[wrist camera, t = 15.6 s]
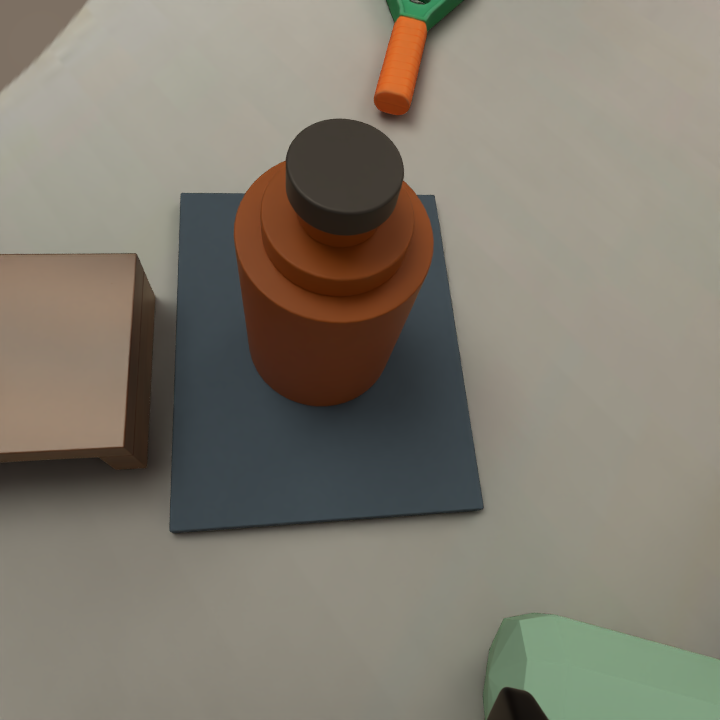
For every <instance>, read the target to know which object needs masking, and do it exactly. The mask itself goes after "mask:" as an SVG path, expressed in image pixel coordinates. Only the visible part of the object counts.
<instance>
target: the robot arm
mask: <svg viewBox="0 0 720 720" xmlns="http://www.w3.org/2000/svg"><path fill="white" fill-rule="evenodd" d="M487 720H549V719H548V718H547V716H546V715H545V713H544V712H543V710H542V709H541V707H540V706H539V704H538V703H537V701H536V700H535V698H534V697H533V696H532V695H531V694H530V693H529V692H527V691H525V690H520V689H516V688H511V687H504V688H502V689H501V691H500V692H499V694H498V696H497V699H496V701H495V703H494V705H493V707H492V709H491V711H490V713H489V716H488V718H487Z"/></svg>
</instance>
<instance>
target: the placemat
mask: <svg viewBox="0 0 720 720" xmlns="http://www.w3.org/2000/svg"><path fill="white" fill-rule="evenodd" d="M244 195H245V194H242V193H181V200H180V230H179V260H178V290H177V320H176V350H175V380H174V410H173V440H172V470H171V500H170V532H172V533H181V532H195V531H208V530H222V529H236V528H249V527H263V526H276V525H290V524H303V523H317V522H330V521H344V520H357V519H371V518H385V517H398V516H412V515H425V514H439V513H452V512H466V511H479V510H481V509H483V508H484V507H483V500H482V494H481V487H480V481H479V475H478V468H477V462H476V456H475V449H474V443H473V437H472V430H471V424H470V418H469V411H468V405H467V398H466V392H465V386H464V379H463V373H462V367H461V360H460V354H459V348H458V341H457V335H456V328H455V322H454V316H453V309H452V303H451V297H450V290H449V284H448V278H447V271H446V265H445V259H444V252H443V246H442V239H441V233H440V227H439V220H438V214H437V208H436V201H435V196H434V195H417V196H418V198H419V199H420V201H421V202H422V204H423V206H424V208H425V209H426V212H427V214H428V217H429V219H430V223H431V227H432V231H433V240H434V246H433V256H432V261H431V265H430V268H429V270H428V273H427V276H426V278H425V280H424V282H423V284H422V287H421V289H420V291H419V293H418V295H417V298H416V300H415V302H414V304H413V306H412V309H411V311H410V313H409V315H408V318H407V320H406V322H405V324H404V326H403V329H402V331H401V333H400V335H399V337H398V340H397V342H396V344H395V346H394V348H393V351H392V353H391V355H390V357H389V360H388V362H387V364H386V366H385V368H384V370H383V372H382V374H381V376H380V377H379V378H378V380H377V381H376V382H375V383H374V384H373V385H372V386H371V387H370V388H369V389H368V390H367V391H366V392H364V393H363V394H362V395H360V396H358V397H356V398H355V399H353V400H350V401H348V402H345V403H342V404H338V405H332V406H310V405H305V404H301V403H297V402H295V401H292V400H289V399H287V398H286V397H284V396H282V395H280V394H279V393H277V392H276V391H275V390H273V389H272V388H271V387H270V386H269V385H268V384H267V383H266V382H265V381H264V380H263V378H262V377H261V376H260V375H259V373H258V371H257V369H256V368H255V366H254V363H253V361H252V358H251V354H250V350H249V343H248V336H247V329H246V322H245V314H244V307H243V300H242V293H241V286H240V279H239V272H238V265H237V258H236V251H235V243H234V222H235V218H236V213H237V210H238V208H239V205H240V202H241V201H242V199H243V197H244Z"/></svg>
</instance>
